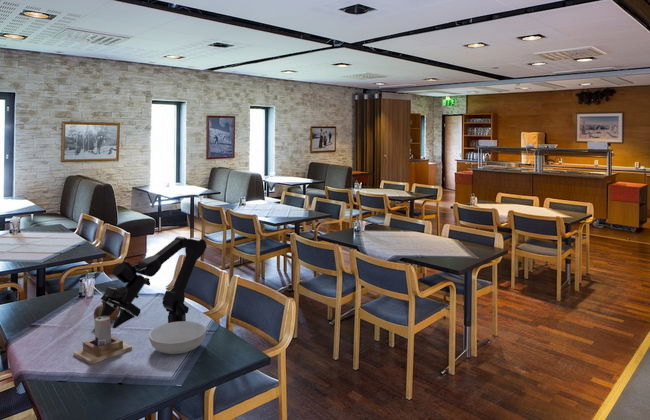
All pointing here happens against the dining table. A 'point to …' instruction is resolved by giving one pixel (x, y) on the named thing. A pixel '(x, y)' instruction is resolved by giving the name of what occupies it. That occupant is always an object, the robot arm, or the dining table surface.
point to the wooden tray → (101, 350)
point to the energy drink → (102, 331)
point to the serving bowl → (177, 337)
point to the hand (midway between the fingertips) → (106, 324)
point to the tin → (112, 316)
